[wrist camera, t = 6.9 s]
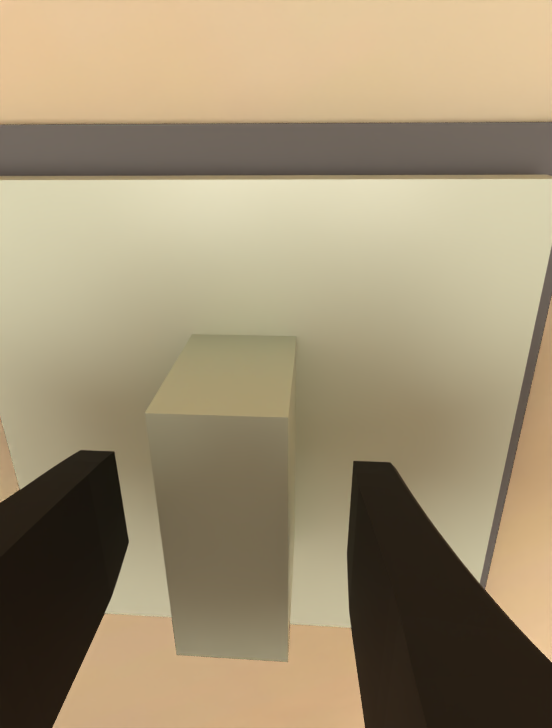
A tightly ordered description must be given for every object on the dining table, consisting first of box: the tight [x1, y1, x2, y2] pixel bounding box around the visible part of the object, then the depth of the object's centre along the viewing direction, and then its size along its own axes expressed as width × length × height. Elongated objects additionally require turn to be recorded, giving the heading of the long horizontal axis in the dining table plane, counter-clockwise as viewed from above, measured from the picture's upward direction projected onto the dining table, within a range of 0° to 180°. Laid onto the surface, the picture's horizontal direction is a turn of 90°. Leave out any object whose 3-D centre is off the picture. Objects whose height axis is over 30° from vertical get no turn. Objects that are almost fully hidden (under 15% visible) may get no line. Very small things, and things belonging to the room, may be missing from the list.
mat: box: [0, 122, 552, 589], centre depth 12 cm, size 12×12×1 cm
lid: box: [0, 175, 552, 662], centre depth 10 cm, size 11×11×4 cm
